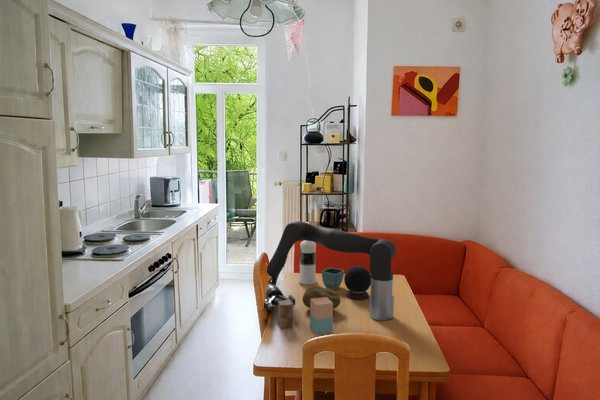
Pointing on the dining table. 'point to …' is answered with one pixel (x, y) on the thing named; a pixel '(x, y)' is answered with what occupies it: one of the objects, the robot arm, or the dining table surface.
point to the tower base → (321, 325)
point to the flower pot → (332, 277)
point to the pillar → (285, 314)
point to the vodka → (307, 263)
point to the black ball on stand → (357, 283)
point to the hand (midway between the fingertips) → (282, 307)
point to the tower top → (321, 308)
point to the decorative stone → (320, 296)
